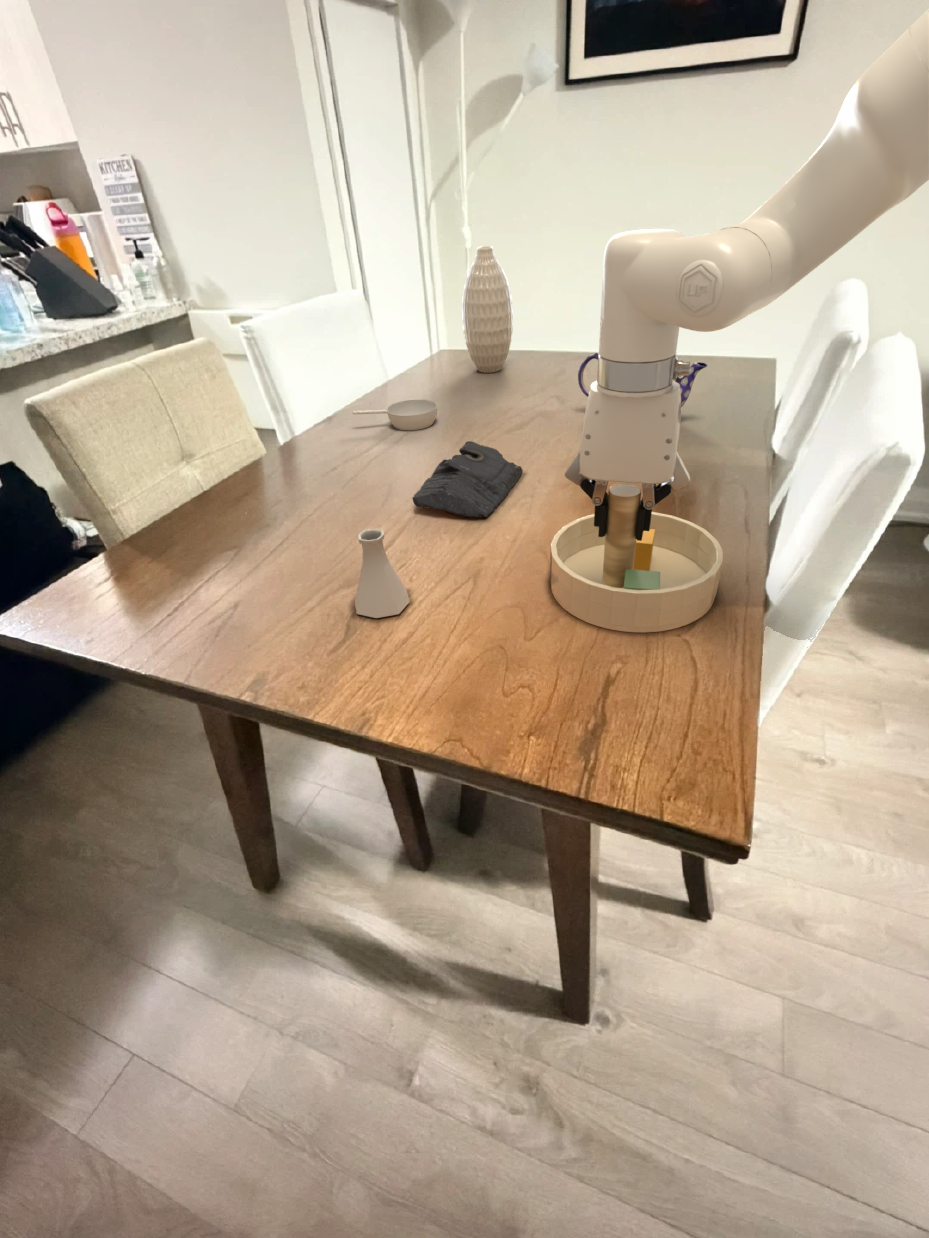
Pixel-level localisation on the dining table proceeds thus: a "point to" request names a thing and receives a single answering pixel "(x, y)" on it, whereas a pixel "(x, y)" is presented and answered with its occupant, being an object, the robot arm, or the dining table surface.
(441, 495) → the dark slate chunk
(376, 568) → the flask
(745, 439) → the dining table surface
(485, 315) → the vase
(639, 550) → the mustard block
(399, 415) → the small pan
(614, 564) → the beige marbled cylinder
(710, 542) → the bowl
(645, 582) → the sage block
